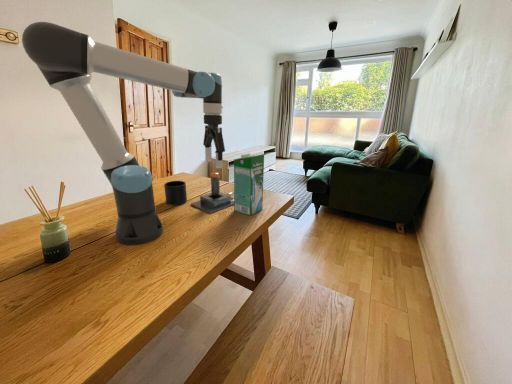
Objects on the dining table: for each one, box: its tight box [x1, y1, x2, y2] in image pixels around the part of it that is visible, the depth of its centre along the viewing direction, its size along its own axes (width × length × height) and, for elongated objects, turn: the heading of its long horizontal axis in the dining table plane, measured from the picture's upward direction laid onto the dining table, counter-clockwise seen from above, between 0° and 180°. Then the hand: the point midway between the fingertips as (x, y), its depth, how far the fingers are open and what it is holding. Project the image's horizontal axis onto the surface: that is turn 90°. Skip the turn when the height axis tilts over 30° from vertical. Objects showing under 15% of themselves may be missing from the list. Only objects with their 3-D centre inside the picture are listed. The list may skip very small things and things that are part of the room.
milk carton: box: [233, 153, 265, 217], centre depth 105 cm, size 9×9×25 cm
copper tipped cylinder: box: [210, 171, 221, 199], centre depth 112 cm, size 4×4×14 cm
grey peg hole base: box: [190, 191, 234, 214], centre depth 116 cm, size 22×14×4 cm, turn 139°
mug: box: [163, 180, 188, 206], centre depth 116 cm, size 9×12×9 cm
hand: (213, 164), depth 109 cm, fingers open, 13 cm apart
